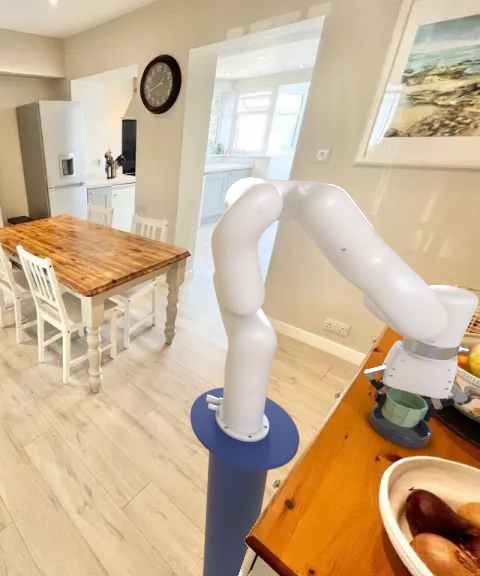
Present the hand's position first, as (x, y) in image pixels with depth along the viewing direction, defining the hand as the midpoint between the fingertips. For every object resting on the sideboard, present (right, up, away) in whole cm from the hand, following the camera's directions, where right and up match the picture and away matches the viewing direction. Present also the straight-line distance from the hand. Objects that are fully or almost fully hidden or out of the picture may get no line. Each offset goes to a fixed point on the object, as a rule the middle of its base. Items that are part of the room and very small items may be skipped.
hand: (401, 410), depth 69 cm
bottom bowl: (+1, -5, +2) cm, 6 cm away
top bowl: (0, -2, +1) cm, 2 cm away
